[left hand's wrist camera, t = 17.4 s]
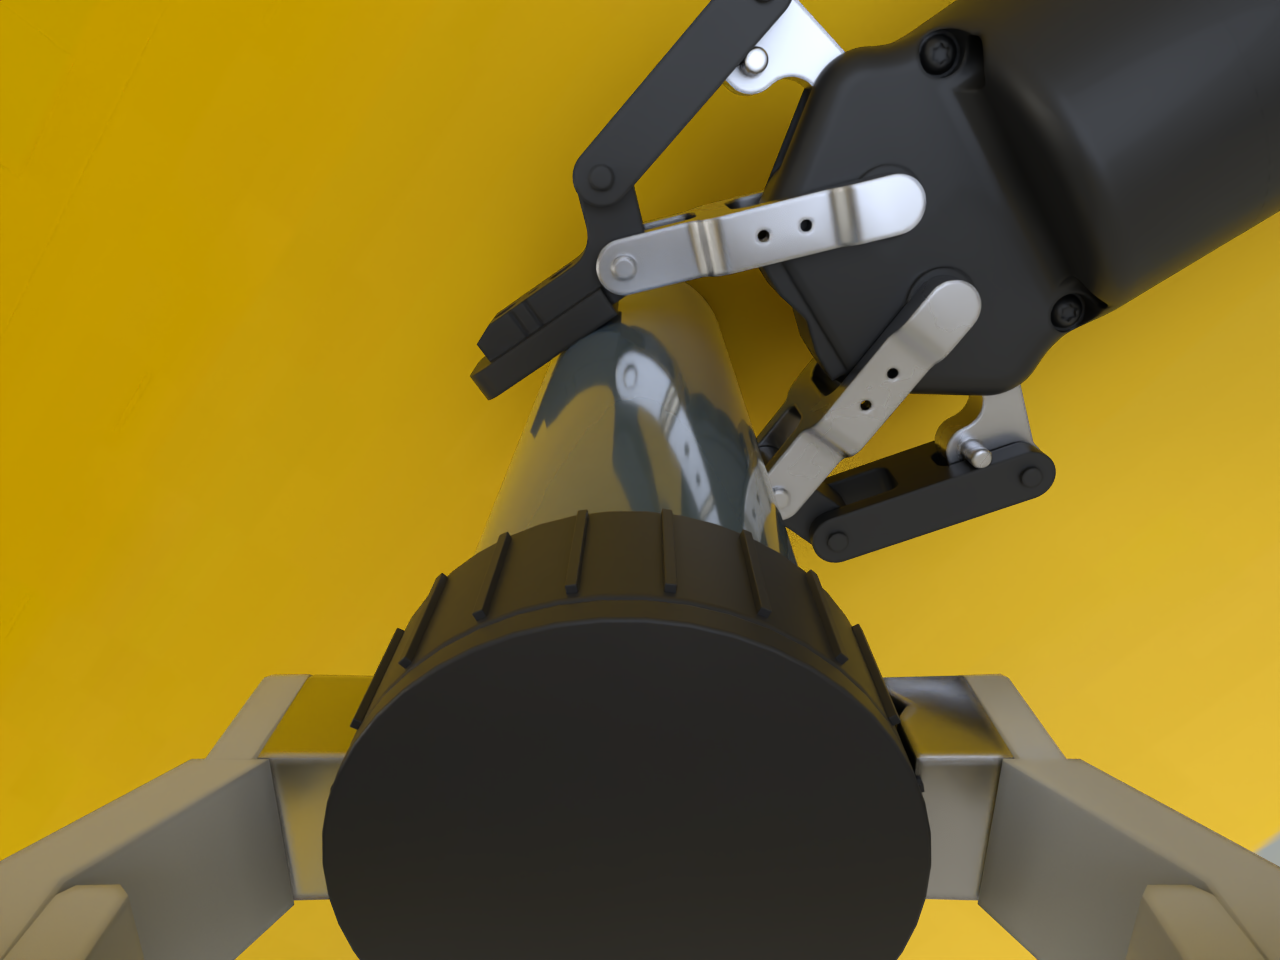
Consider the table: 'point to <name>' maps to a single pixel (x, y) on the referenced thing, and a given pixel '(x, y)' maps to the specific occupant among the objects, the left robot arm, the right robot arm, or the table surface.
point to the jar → (642, 428)
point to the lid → (627, 762)
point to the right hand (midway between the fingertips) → (554, 469)
